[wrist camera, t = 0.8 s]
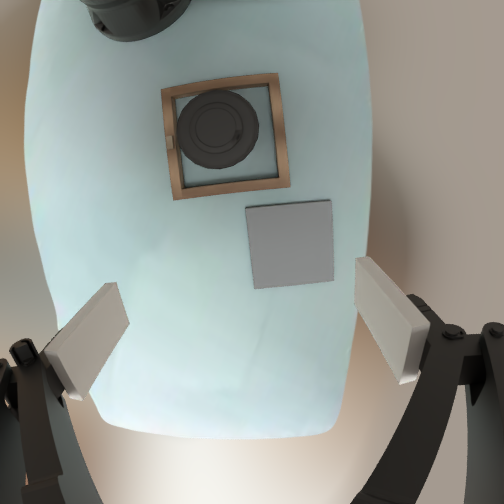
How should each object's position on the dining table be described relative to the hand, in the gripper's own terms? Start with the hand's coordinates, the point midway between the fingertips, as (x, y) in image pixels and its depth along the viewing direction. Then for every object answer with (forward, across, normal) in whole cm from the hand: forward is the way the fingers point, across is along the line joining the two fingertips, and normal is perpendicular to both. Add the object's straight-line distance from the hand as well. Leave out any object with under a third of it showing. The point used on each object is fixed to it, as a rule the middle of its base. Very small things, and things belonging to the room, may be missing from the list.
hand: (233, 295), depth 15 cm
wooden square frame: (+24, -1, +9) cm, 26 cm away
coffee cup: (+24, -2, +9) cm, 26 cm away
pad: (+24, +5, -6) cm, 25 cm away
